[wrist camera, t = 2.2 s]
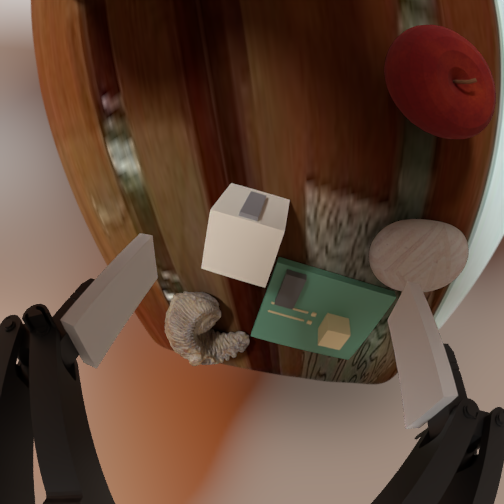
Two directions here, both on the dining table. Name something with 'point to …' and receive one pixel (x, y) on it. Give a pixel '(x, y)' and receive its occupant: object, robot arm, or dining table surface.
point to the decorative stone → (418, 254)
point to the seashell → (200, 330)
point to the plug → (245, 234)
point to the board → (319, 310)
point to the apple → (440, 82)
